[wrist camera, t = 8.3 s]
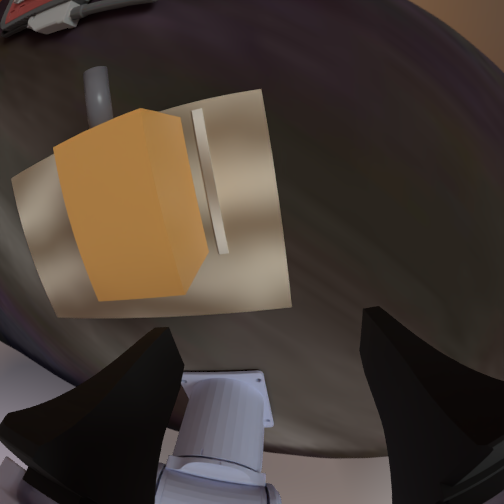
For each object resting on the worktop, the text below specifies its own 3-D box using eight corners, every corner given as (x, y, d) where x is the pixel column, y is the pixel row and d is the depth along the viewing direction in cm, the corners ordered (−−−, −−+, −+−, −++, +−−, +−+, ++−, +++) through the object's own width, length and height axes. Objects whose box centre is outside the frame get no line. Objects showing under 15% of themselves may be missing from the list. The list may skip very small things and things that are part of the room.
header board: (290, 297, 20) (294, 338, 15) (64, 311, 22) (38, 337, 18) (261, 92, 15) (258, 74, 10) (20, 175, 17) (-16, 187, 13)
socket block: (208, 251, 16) (185, 294, 12) (137, 261, 17) (99, 301, 12) (172, 70, 12) (132, 45, 8) (100, 98, 13) (47, 91, 8)
